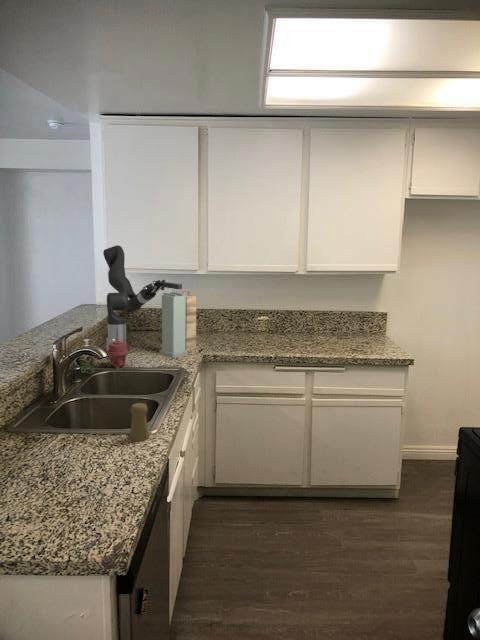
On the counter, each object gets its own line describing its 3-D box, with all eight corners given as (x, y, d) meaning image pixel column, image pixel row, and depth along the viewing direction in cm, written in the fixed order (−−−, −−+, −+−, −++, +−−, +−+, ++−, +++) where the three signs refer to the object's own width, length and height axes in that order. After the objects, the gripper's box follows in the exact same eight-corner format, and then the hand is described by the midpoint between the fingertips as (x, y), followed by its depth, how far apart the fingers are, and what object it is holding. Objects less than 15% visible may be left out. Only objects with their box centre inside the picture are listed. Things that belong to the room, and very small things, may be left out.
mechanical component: (119, 370, 226) (102, 367, 230) (133, 366, 235) (117, 363, 239) (118, 345, 224) (102, 342, 228) (132, 341, 233) (116, 338, 237)
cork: (150, 434, 155) (150, 401, 153) (147, 441, 149) (147, 407, 147) (131, 433, 154) (130, 400, 153) (127, 441, 148) (127, 407, 147)
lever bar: (182, 289, 251) (182, 284, 251) (178, 289, 249) (178, 284, 249) (157, 285, 266) (157, 280, 266) (153, 285, 264) (153, 281, 264)
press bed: (195, 348, 275) (196, 296, 270) (186, 350, 270) (186, 297, 265) (184, 345, 281) (184, 294, 276) (175, 347, 276) (175, 295, 271)
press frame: (187, 354, 260) (188, 293, 254) (173, 357, 252) (173, 295, 247) (174, 350, 268) (174, 291, 262) (159, 353, 261) (159, 293, 255)
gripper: (133, 289, 268) (149, 275, 256) (154, 287, 278) (170, 274, 266) (137, 301, 266) (153, 288, 255) (158, 299, 276) (174, 287, 265)
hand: (162, 281), depth 260 cm, fingers closed on lever bar, 2 cm apart
